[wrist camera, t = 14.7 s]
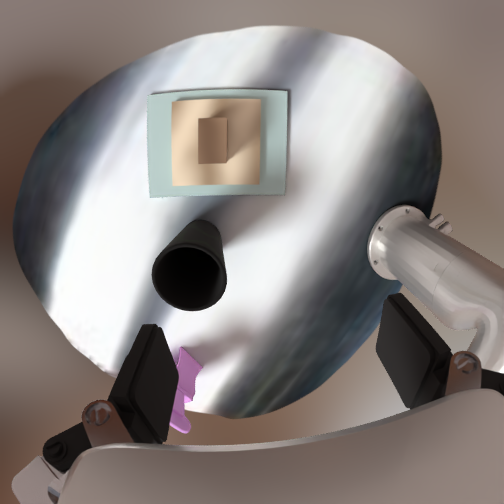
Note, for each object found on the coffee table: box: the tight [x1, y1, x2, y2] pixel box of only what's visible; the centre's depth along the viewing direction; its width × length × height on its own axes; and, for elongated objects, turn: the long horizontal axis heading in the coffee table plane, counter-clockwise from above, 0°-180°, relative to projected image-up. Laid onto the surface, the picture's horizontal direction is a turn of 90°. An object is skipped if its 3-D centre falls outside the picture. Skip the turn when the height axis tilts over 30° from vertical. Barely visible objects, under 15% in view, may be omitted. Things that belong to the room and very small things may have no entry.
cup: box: [152, 220, 227, 311], centre depth 32 cm, size 8×8×12 cm
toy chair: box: [170, 347, 203, 433], centre depth 40 cm, size 8×9×15 cm
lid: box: [171, 99, 261, 186], centre depth 30 cm, size 11×11×6 cm
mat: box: [147, 89, 287, 198], centre depth 33 cm, size 18×14×1 cm
